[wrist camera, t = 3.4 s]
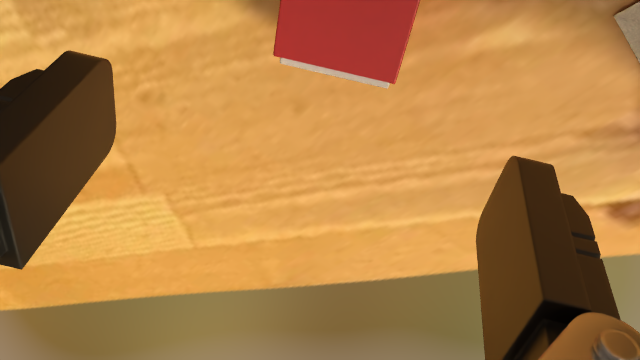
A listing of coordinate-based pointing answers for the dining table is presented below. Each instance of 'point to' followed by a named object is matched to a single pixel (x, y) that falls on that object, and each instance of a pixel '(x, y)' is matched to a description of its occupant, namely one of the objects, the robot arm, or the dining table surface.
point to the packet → (346, 37)
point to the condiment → (631, 27)
